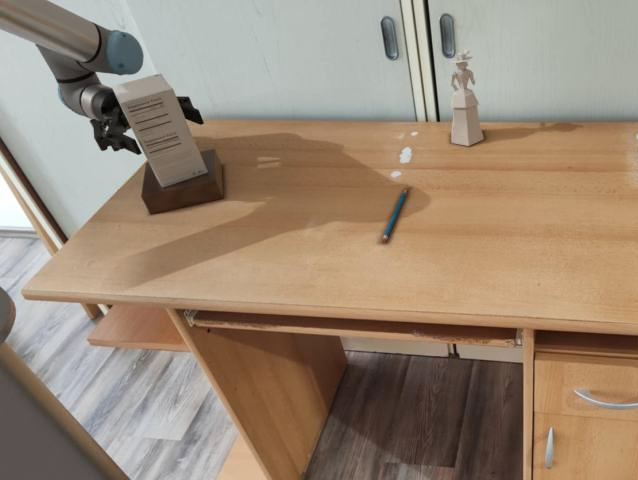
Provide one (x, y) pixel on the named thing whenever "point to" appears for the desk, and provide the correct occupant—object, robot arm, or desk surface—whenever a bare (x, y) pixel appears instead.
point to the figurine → (464, 105)
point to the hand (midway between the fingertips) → (169, 131)
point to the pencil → (394, 217)
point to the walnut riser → (184, 187)
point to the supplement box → (160, 129)
